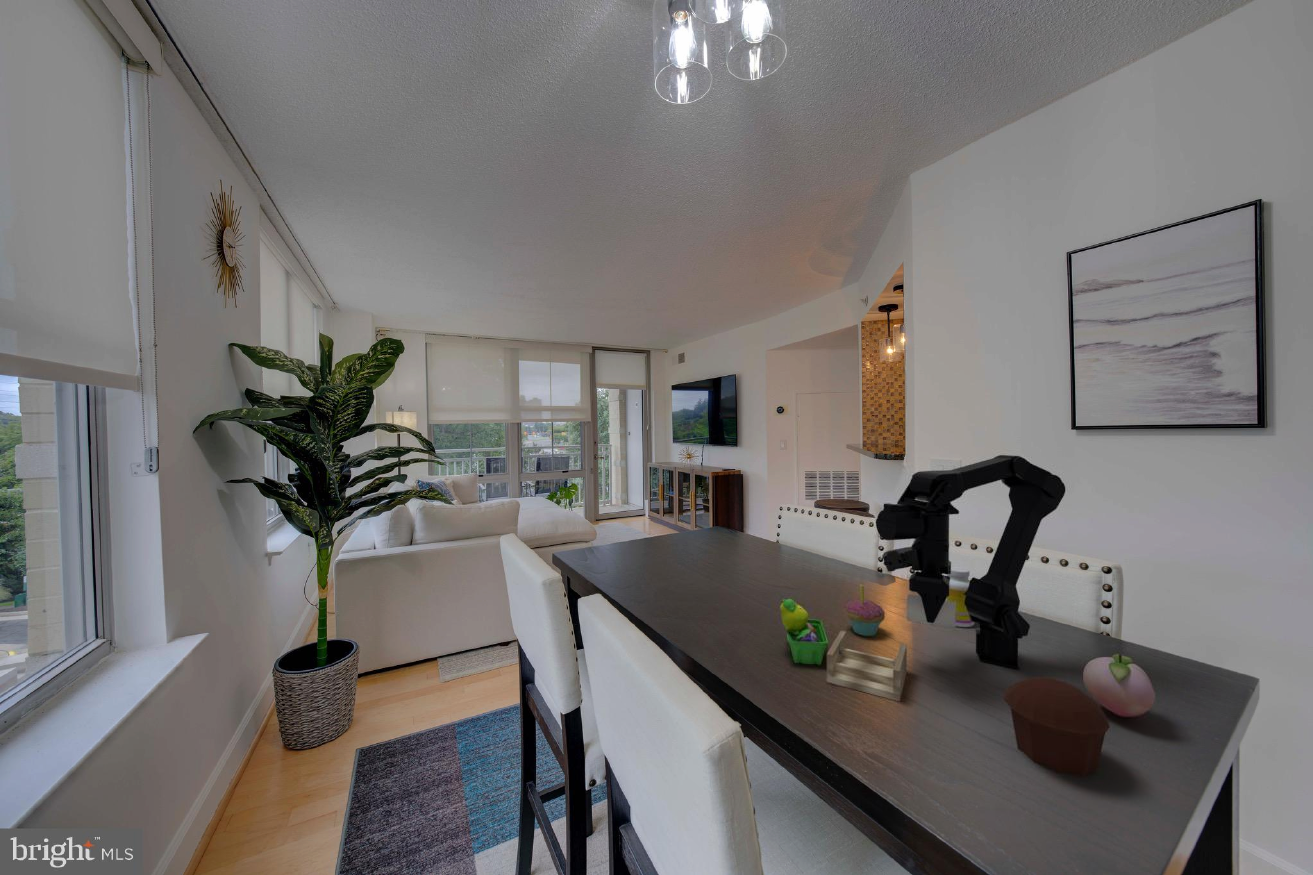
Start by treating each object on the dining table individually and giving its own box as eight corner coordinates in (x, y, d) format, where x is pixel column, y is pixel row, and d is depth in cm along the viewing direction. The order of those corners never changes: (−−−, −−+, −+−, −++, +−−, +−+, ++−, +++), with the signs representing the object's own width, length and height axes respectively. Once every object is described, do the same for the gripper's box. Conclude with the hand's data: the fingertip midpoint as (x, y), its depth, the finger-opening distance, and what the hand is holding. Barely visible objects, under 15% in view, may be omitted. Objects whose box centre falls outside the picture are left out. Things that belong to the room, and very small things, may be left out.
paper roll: (956, 624, 93) (956, 598, 93) (955, 633, 89) (955, 606, 88) (908, 615, 97) (908, 591, 97) (905, 624, 93) (906, 598, 93)
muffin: (1060, 728, 74) (1060, 664, 74) (1133, 781, 63) (1134, 705, 63) (985, 730, 74) (985, 666, 74) (1046, 784, 63) (1046, 708, 62)
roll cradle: (906, 671, 92) (906, 644, 92) (899, 701, 82) (899, 671, 82) (840, 655, 98) (840, 630, 98) (826, 681, 88) (826, 653, 88)
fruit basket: (828, 669, 93) (828, 611, 93) (781, 664, 95) (781, 608, 95) (821, 643, 104) (820, 591, 104) (778, 639, 106) (778, 589, 106)
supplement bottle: (980, 628, 111) (981, 573, 111) (951, 628, 111) (952, 573, 111) (963, 617, 118) (963, 565, 118) (935, 617, 118) (935, 565, 118)
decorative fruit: (1081, 694, 84) (1081, 637, 83) (1148, 711, 78) (1149, 650, 78) (1084, 719, 76) (1084, 657, 76) (1158, 740, 71) (1159, 673, 71)
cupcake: (879, 643, 104) (879, 588, 104) (839, 633, 109) (839, 580, 109) (888, 629, 111) (888, 578, 110) (850, 621, 116) (850, 571, 116)
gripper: (891, 524, 105) (891, 595, 105) (878, 541, 89) (878, 625, 89) (951, 530, 99) (950, 605, 99) (949, 549, 83) (948, 639, 83)
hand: (931, 617), depth 93 cm, fingers closed on paper roll, 5 cm apart
